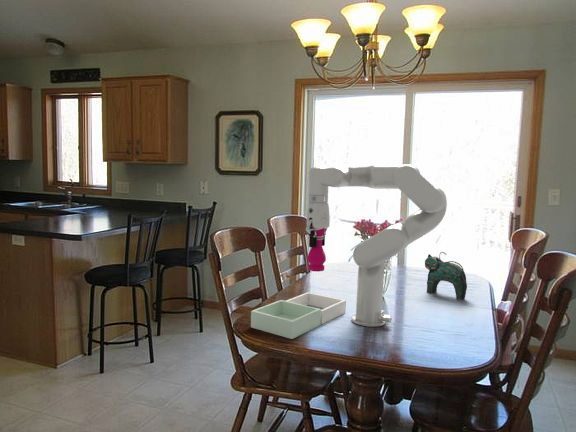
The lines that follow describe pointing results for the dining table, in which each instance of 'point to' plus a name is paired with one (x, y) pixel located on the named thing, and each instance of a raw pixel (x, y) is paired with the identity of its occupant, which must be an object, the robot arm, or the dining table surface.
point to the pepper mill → (317, 253)
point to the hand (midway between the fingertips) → (316, 245)
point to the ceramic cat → (445, 275)
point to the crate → (322, 305)
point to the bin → (285, 318)
